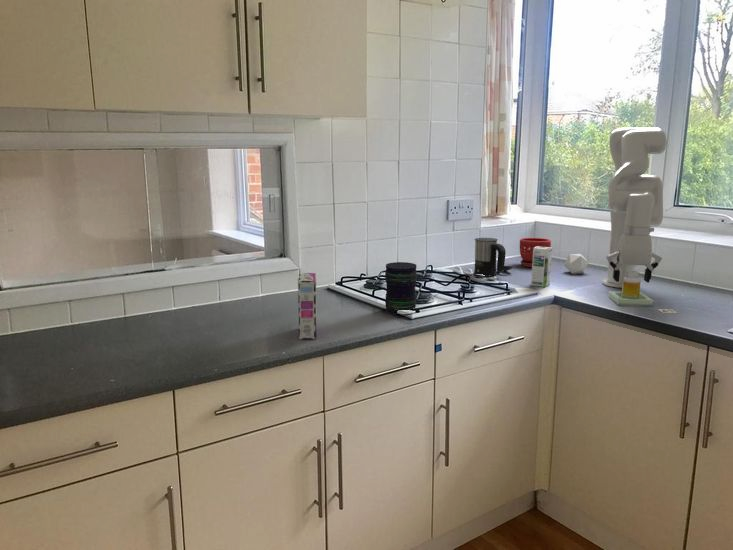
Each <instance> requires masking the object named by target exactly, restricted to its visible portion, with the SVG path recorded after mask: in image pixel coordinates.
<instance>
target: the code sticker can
mask: <svg viewBox="0 0 733 550" xmlns="http://www.w3.org/2000/svg"><path fill="white" fill-rule="evenodd" d="M657 310H658V311H659V312H661V314H677V311H676V310H674V309H669V308H668V309H667V308H657Z"/></svg>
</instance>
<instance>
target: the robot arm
mask: <svg viewBox="0 0 733 550" xmlns="http://www.w3.org/2000/svg"><path fill="white" fill-rule="evenodd" d="M667 141H668V140H667V135H666V132H665V131H664V130H663V129H662V128H660V127H656V126H654V127H653V126H651V127H649V126H648V127H647V126H646V127H645V126H644V127H636V126H634V127H621V128H617V129H613V131H612V132H611V133H610V136H609V152H610V155H611V158H612V161H613V164H614V169H615V170H614V174H613V175H612V176H611V178H610V181H609V184H608V189H607V190H608V195H607V196H608V200H607V201H608V208H609V209H610V231H611V232H610V243H609V253H608V255H606V257H605V258H606V260H607V262H608V266H607V277H606V278H603V279H602V282H601V283H602V284H603V285H604V286H608V287H612V288H620V289H622V285H623V278H624V277H626V271H628V270H632V271H637V270H636V269H637V266H645V267H646V268H645V269H644V275H643V281H644V282H646V283H650V280H651V279H652V273H653V271H654V269H656V268H657V267H658V266H659V264H660V262H661V261H662V260H663V258H662V257H661V256H660V255H658V254H655V253H654V252H653V251H652V250H653V246H652V243H653V242H652V236H651V233H653V232H655V228H657V227H659V226H661V224H662V222H663V220H664V219H663V218H664V192H663V189H664V188H663V187H664V186H663V181H662V179H661V177H659V176H658V175H655V174H646V172H647V171H648V170H649V155H661V154H663V153H664V151H665V150H666V148H667V143H668V142H667ZM652 258H653V259H654V261H653V262H652Z"/></svg>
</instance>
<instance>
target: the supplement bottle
mask: <svg viewBox="0 0 733 550" xmlns="http://www.w3.org/2000/svg"><path fill="white" fill-rule="evenodd" d="M639 275H640V272H639V271H638V270H635V271H632V270H628V271H626V277H624V278H623V285H622V288H621V292H622V295H621V298H625V299H639V292H641V291H640V289H641V278H639V277H640V276H639Z"/></svg>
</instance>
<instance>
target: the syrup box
mask: <svg viewBox="0 0 733 550" xmlns="http://www.w3.org/2000/svg"><path fill="white" fill-rule="evenodd" d="M552 257H553V247H540V246H536V247H534V248H533V263H532V267H531V281H530V286H533V287H534V286H536V287H543V288H546V287H548V286H549V285H550V284H551V273H552Z"/></svg>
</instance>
